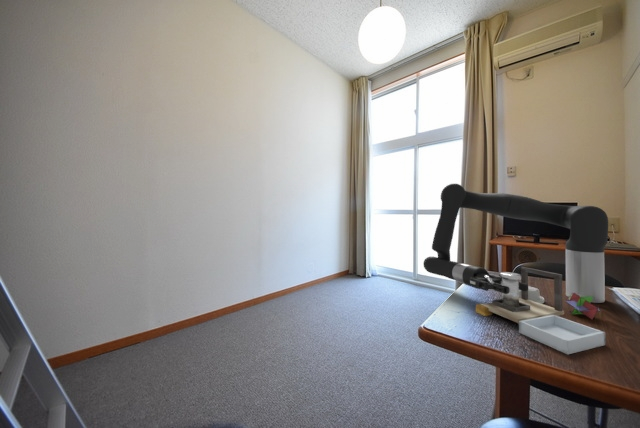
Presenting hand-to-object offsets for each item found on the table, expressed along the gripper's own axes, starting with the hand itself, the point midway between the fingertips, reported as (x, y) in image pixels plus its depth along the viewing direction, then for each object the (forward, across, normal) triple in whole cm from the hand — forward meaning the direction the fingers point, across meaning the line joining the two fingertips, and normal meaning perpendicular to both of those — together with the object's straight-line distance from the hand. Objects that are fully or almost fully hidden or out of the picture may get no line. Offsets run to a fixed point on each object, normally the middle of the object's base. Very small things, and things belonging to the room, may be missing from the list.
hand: (517, 289), depth 70 cm
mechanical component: (-10, +18, +9) cm, 22 cm away
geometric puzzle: (+5, +19, +9) cm, 21 cm away
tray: (+11, -2, +8) cm, 14 cm away
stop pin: (-2, 0, +6) cm, 6 cm away
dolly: (-1, +2, +8) cm, 9 cm away
